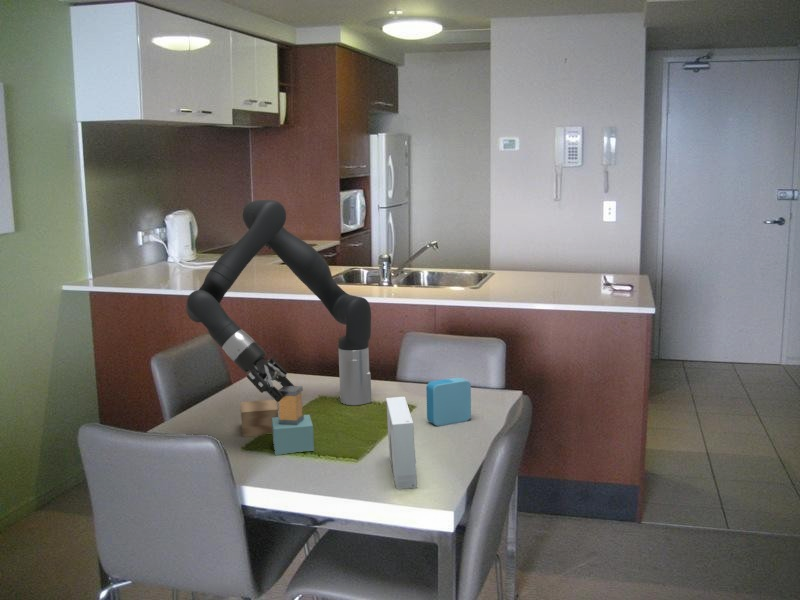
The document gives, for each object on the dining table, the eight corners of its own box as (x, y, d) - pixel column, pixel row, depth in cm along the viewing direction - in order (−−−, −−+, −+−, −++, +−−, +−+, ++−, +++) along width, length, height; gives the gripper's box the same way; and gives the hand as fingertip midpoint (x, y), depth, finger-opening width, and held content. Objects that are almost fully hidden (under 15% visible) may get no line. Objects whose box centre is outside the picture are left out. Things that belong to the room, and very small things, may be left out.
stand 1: (277, 422, 246) (275, 399, 244) (279, 433, 236) (277, 409, 235) (241, 425, 244) (240, 402, 242) (242, 437, 234) (240, 412, 233)
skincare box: (387, 457, 216) (385, 397, 213) (408, 456, 216) (407, 395, 213) (393, 489, 195) (392, 423, 192) (417, 488, 195) (416, 422, 193)
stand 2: (310, 439, 231) (309, 414, 229) (314, 451, 221) (313, 425, 220) (273, 442, 229) (271, 417, 228) (275, 455, 219) (273, 429, 218)
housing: (286, 418, 227) (284, 385, 225) (303, 419, 225) (302, 386, 224) (278, 424, 222) (277, 390, 220) (297, 425, 221) (295, 391, 219)
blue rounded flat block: (463, 416, 248) (463, 376, 246) (471, 420, 244) (471, 379, 242) (426, 422, 243) (425, 381, 241) (434, 427, 239) (433, 385, 237)
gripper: (241, 347, 215) (286, 393, 215) (263, 335, 229) (305, 378, 228) (223, 367, 218) (267, 412, 217) (246, 354, 231) (287, 396, 231)
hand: (287, 394), depth 223 cm, fingers open, 8 cm apart
